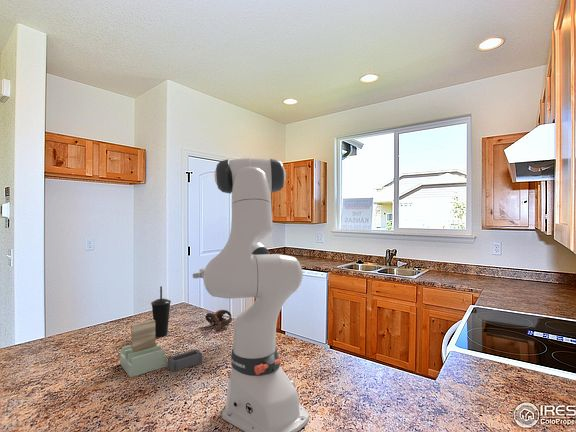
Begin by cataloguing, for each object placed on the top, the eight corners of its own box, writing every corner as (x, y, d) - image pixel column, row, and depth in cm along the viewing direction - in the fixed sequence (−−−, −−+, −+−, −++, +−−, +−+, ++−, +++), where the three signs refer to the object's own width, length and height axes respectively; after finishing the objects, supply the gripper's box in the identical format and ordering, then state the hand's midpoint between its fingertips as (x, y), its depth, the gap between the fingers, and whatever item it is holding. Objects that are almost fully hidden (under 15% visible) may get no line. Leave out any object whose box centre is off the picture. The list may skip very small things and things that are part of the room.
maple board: (155, 359, 105) (155, 320, 105) (132, 366, 101) (132, 325, 101) (153, 357, 107) (153, 319, 107) (131, 364, 102) (131, 324, 102)
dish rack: (166, 366, 103) (166, 349, 103) (130, 377, 95) (130, 359, 95) (154, 354, 112) (154, 338, 112) (120, 363, 104) (120, 347, 104)
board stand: (202, 362, 105) (202, 353, 105) (172, 372, 99) (172, 362, 99) (196, 357, 109) (196, 349, 109) (167, 367, 102) (167, 357, 102)
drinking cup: (146, 337, 127) (146, 287, 127) (159, 330, 135) (159, 284, 135) (162, 339, 125) (162, 289, 125) (174, 332, 132) (174, 285, 133)
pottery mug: (231, 322, 146) (235, 309, 143) (227, 338, 138) (231, 325, 134) (206, 317, 145) (209, 303, 141) (200, 332, 137) (203, 319, 133)
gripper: (218, 263, 132) (187, 266, 123) (246, 267, 117) (212, 271, 107) (218, 278, 132) (186, 282, 122) (246, 284, 116) (212, 290, 107)
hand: (199, 277), depth 115 cm, fingers open, 8 cm apart
